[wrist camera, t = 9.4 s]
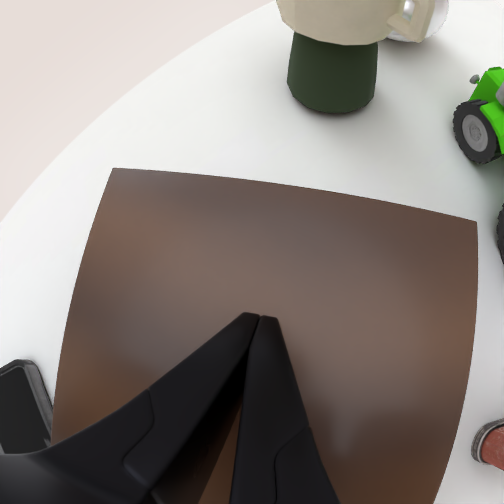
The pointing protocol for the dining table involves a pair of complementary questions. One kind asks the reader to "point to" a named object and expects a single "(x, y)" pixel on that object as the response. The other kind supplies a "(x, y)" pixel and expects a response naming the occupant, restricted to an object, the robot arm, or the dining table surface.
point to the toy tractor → (484, 126)
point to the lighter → (490, 444)
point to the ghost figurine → (435, 23)
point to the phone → (23, 409)
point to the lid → (283, 316)
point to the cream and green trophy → (343, 47)
